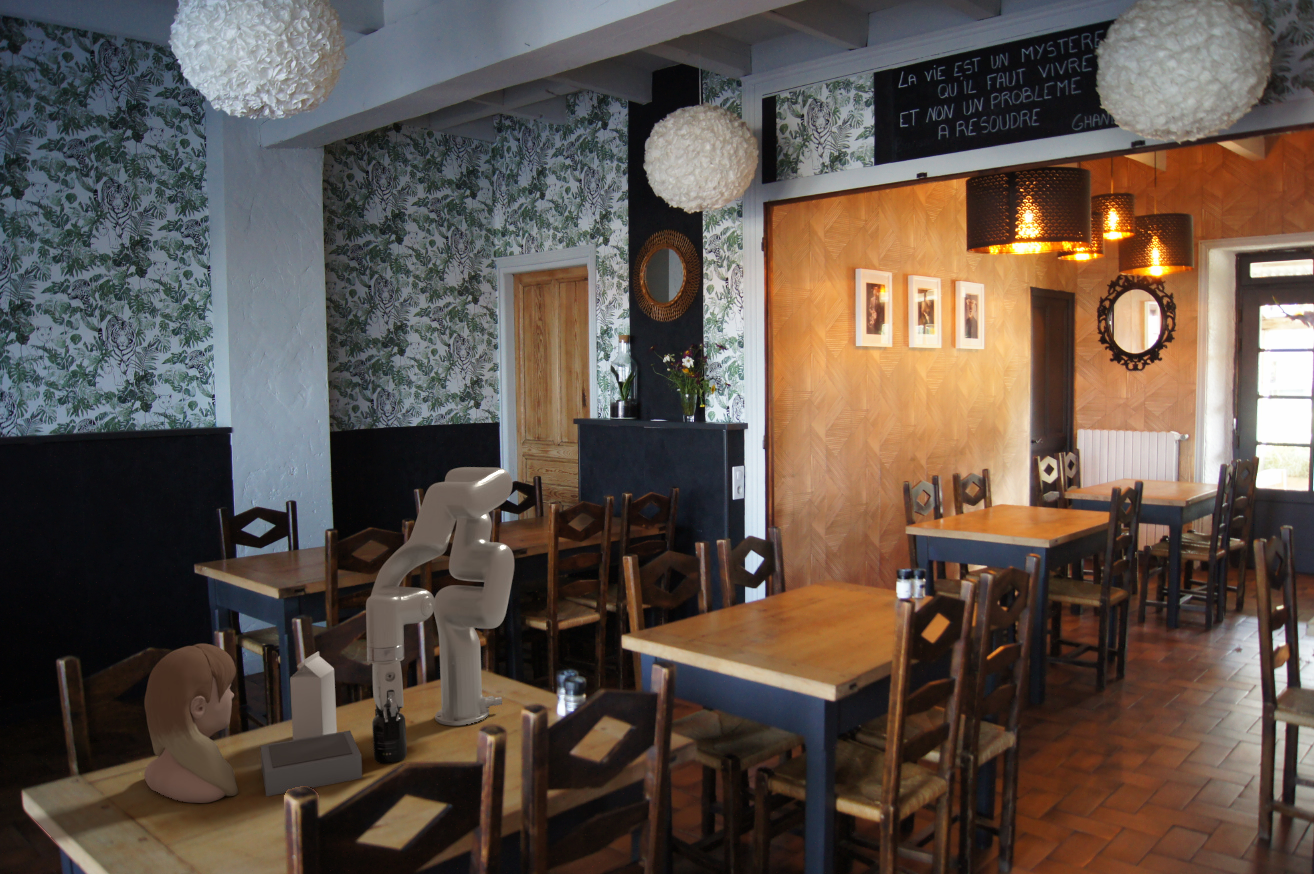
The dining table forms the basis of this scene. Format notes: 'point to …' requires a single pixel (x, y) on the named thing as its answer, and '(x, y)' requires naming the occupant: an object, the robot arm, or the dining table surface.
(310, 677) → the milk carton
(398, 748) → the supplement bottle
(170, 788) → the head mannequin
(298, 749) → the display riser
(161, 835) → the dining table surface
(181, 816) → the dining table surface
